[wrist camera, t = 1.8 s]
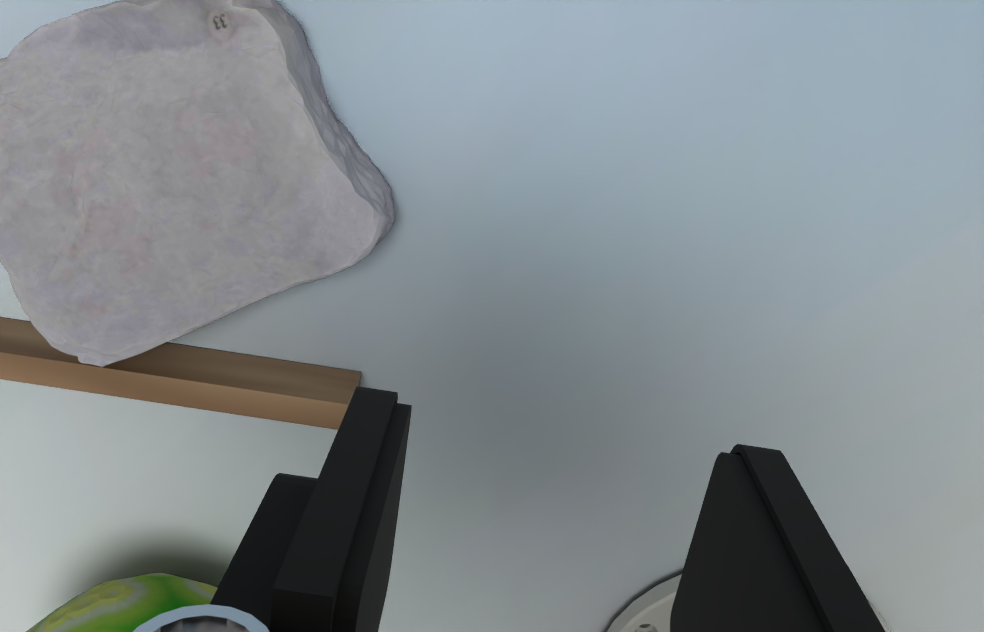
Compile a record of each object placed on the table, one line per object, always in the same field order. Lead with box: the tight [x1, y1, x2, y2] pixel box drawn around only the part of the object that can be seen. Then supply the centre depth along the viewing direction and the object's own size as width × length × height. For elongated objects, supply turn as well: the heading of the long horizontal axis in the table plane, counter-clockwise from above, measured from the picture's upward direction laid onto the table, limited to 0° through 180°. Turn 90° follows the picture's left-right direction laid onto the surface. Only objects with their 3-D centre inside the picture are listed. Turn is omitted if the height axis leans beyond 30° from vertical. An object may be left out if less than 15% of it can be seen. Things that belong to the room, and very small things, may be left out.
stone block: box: [0, 0, 395, 367], centre depth 26 cm, size 12×5×10 cm
